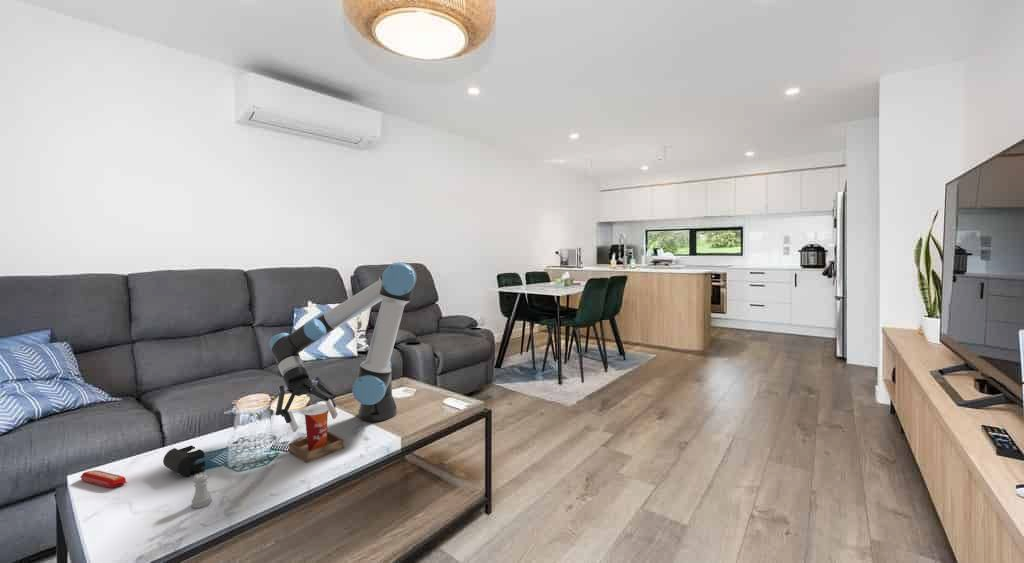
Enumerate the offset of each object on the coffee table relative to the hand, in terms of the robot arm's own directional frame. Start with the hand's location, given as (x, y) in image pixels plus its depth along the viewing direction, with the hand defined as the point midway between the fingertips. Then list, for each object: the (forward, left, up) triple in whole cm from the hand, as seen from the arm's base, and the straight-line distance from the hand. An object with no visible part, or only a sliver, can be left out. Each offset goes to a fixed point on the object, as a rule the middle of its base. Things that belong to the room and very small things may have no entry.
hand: (316, 423), depth 140 cm
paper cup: (0, -1, -9) cm, 9 cm away
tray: (0, 0, -9) cm, 9 cm away
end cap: (+32, -18, -10) cm, 38 cm away
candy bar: (+48, -30, -10) cm, 58 cm away
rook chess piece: (+34, +6, -10) cm, 36 cm away
